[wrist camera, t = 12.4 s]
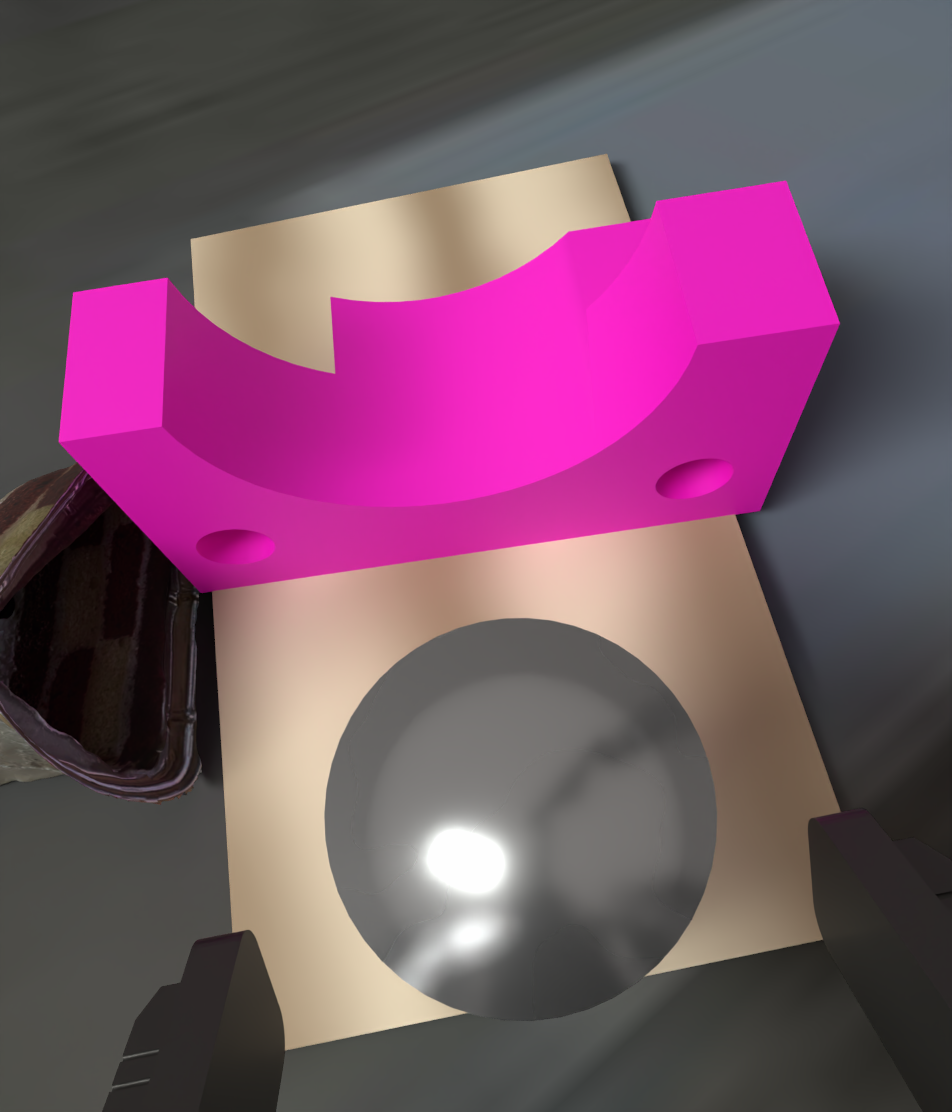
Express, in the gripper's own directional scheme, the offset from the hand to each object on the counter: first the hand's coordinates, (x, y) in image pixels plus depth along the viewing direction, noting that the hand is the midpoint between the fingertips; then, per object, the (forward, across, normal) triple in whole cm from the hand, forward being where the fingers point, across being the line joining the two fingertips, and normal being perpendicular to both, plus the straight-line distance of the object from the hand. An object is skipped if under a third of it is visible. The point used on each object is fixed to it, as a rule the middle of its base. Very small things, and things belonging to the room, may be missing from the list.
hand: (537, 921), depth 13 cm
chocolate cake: (+14, +11, -1) cm, 18 cm away
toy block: (+14, 0, -4) cm, 15 cm away
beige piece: (+14, 0, -2) cm, 14 cm away
